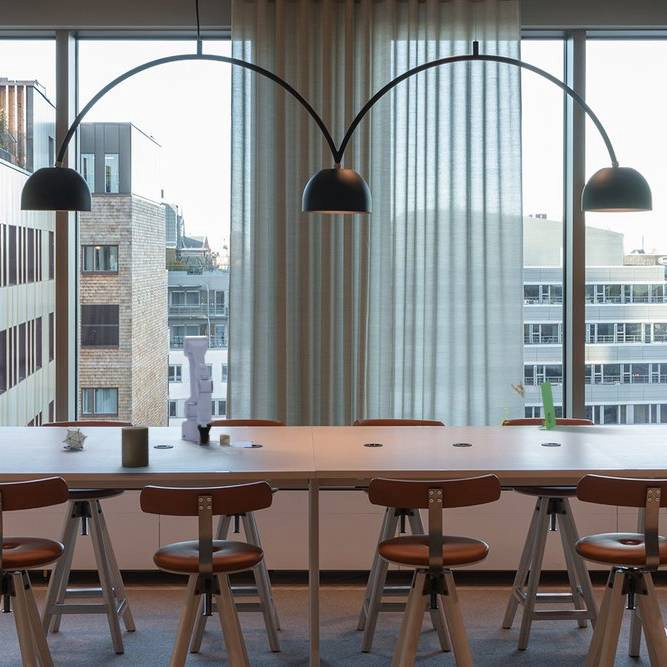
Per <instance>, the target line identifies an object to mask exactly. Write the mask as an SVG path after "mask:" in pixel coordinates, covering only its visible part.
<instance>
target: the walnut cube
mask: <svg viewBox="0 0 667 667" xmlns="http://www.w3.org/2000/svg"><path fill="white" fill-rule="evenodd" d="M210 438H211V436H210V433H209V435H208V442H207V444H202V442H201V437H200V436H199V439H200V441H199V442H200V446H201V445H210V442H211V441H210V440H211V439H210Z"/></svg>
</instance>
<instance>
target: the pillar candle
mask: <svg viewBox="0 0 667 667" xmlns="http://www.w3.org/2000/svg"><path fill="white" fill-rule="evenodd" d="M149 432H150V431H149V426H136V425H134V426H123V427H121V467H125V468H141V467H148V466H149V465H150V460H149V456H150V454H149V453H150V452H149V451H150V448H149V444H150V442H149V441H150V440H149V438H150V436H149Z"/></svg>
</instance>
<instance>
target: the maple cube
mask: <svg viewBox="0 0 667 667" xmlns="http://www.w3.org/2000/svg"><path fill="white" fill-rule="evenodd" d="M219 442H220V445H230V442H231V433H219Z"/></svg>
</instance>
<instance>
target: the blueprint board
mask: <svg viewBox="0 0 667 667" xmlns="http://www.w3.org/2000/svg"><path fill="white" fill-rule="evenodd" d="M252 447H253V445H252V441H230V445H220V441H210V445H201V446H200V441H197V445H196V448H197V449H198V448H199V449H200V448H202V449H203V448H252Z"/></svg>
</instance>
